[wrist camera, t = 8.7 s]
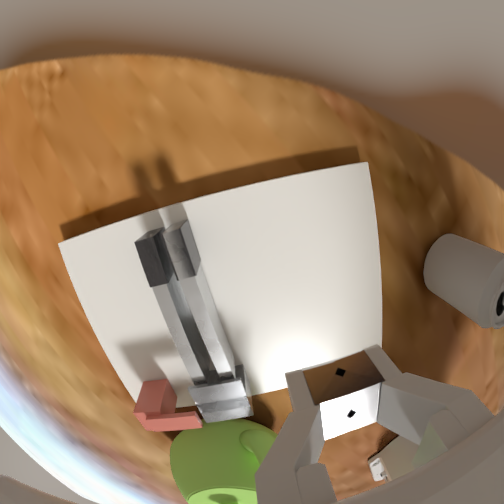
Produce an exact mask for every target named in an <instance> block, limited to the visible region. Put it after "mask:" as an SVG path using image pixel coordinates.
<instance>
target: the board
mask: <svg viewBox="0 0 504 504" xmlns="http://www.w3.org/2000/svg"><path fill="white" fill-rule="evenodd" d="M187 219H188V221H189V224H190V227H191V230H192V233H193V237H194V240H195V243H196V246H197V249H198V252H199V255H200V258H201V262H200V263H201V266H202V269H203V272H204V275H205V278H206V281H207V284H208V287H209V290H210V292H211V295H212V298H213V301H214V303H215V306H216V309H217V312H218V314H219V317H220V320H221V323H222V325H223V328H224V331H225V333H226V336H227V338H228V341H229V344H230V346H231V349H232V351H233V354H234V360H235V366H237V365H241V364H243V365H244V368H245V371H246V374H247V377H248V379H249V382H250V388H251V396H253V395H257V394H262V393H266V392H271V391H275V390H279V389H283V388H287V383H286V378H285V373H286V372H290V371H295V370H299V369H301V368H305V367H309V366H313V365H317V364H320V363H324V362H328V361H331V360H334V359H337V358H340V357H343V356H346V355H349V354H352V353H355V352H358V351H360V350H362V349H365V348H368V347H370V346H373V345H375V344H377V345H379V346H380V347H381V348H382V284H381V265H380V251H379V239H378V229H377V220H376V212H375V204H374V197H373V190H372V184H371V178H370V172H369V166H368V162H359V163H353V164H346V165H341V166H335V167H329V168H324V169H318V170H313V171H308V172H303V173H298V174H293V175H288V176H284V177H279V178H274V179H270V180H265V181H261V182H256V183H252V184H248V185H244V186H240V187H235V188H231V189H227V190H223V191H220V192H216V193H212V194H208V195H204V196H201V197H197V198H193V199H190V200H186V201H182V202H179V203H175V204H172V205H169V206H165V207H162V208H158V209H155V210H152V211H149V212H145V213H142V214H139V215H136V216H133V217H130V218H126V219H123V220H120V221H117V222H114V223H111V224H108V225H106V226H103V227H100V228H97V229H94V230H91V231H88V232H86V233H83V234H80V235H77V236H75V237H72V238H69V239H67V240H64V241H62V242H60V243H58V245H59V248H60V251H61V254H62V257H63V259H64V262H65V265H66V268H67V270H68V273H69V276H70V278H71V281H72V283H73V286H74V288H75V291H76V293H77V295H78V298H79V300H80V302H81V305H82V307H83V309H84V311H85V313H86V316H87V318H88V320H89V322H90V324H91V326H92V328H93V330H94V332H95V334H96V336H97V338H98V340H99V342H100V344H101V346H102V348H103V349H104V351H105V353H106V355H107V357H108V358H109V360H110V362H111V364H112V365H113V367H114V369H115V371H116V372H117V374H118V376H119V377H120V379H121V380H122V382H123V384H124V385H125V387H126V388H127V390H128V392H129V393H130V395H131V396H132V398H133V399H134V401H135V402H136V403H137V399H138V396H139V393H140V390H141V387H142V384H143V382H144V381H153V380H161V379H168V381H169V383H170V385H171V387H172V388H173V390H174V392H175V394H176V395H177V402H176V408H178V407H187V406H195V405H196V404H195V402H194V400H193V398H192V396H191V395H190V393H189V391H188V387H189V386H195V385H194V383H193V381H192V379H191V377H190V375H189V373H188V371H187V369H186V367H185V365H184V363H183V360H182V358H181V356H180V354H179V352H178V350H177V347H176V345H175V343H174V341H173V338H172V336H171V334H170V331H169V329H168V327H167V324H166V322H165V319H164V317H163V315H162V312H161V310H160V307H159V305H158V302H157V299H156V297H155V294H154V292H153V289H152V287H151V288H150V286H149V283H148V281H147V278H146V275H145V272H144V270H143V267H142V264H141V261H140V258H139V255H138V252H137V249H136V246H135V243H134V242H135V241H136V240H138V239H139V238H140V237H141V236H143V235H144V234H145V233H147V232H148V231H151V230H154V229H158V228H161V227H165V230H166V229H167V228H168V227H169V226H170V225H171V224H174V223H178V222H181V221H184V220H187ZM187 303H188V302H187ZM188 306H189V305H188ZM189 308H190V307H189ZM190 311H191V310H190ZM191 314H192V312H191ZM192 317H193V315H192ZM193 319H194V317H193ZM194 322H195V319H194ZM195 325H196V327H197V324H196V322H195ZM197 330H198V332H199V335H200V338H201V340H202V343H203V345H204V348H205V350H206V353H207V355H208V358H209V360H210V368H209V371H212V370H215V366H214V363H213V361H212V359H211V357H210V355H209V352H208V350H207V348H206V345H205V343H204V341H203V339H202V336H201V334H200V331H199V329H198V327H197Z"/></svg>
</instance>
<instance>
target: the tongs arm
mask: <svg viewBox="0 0 504 504" xmlns="http://www.w3.org/2000/svg"><path fill="white" fill-rule="evenodd" d="M161 237H162V240H163V243H164V246H165V248H166V251H167V254H168V257H169V260H170V263H171V265H172V268H173V271H174V273H175V276H176V279H177V281H180V284H181V287H182V289H183V292H184V294H185V297H186V300H187V302H188V305H189V307H190V310H191V312H192V315H193V317H194V319H195V322H196V324H197V327H198V329H199V331H200V334H201V336H202V339H203V341H204V343H205V345H206V348H207V350H208V352H209V355H210V357H211V359H212V361H213V363H214V366H215V368H216V370H217V372H218V374H219V376H220V379H221V381H224V380H230V379H235V378H236V377H235V360H234V354H233V351H232V349H231V346H230V344H229V341H228V338H227V336H226V333H225V331H224V328H223V325H222V323H221V320H220V317H219V314H218V312H217V309H216V306H215V303H214V301H213V298H212V295H211V292H210V290H209V287H208V284H207V281H206V278H205V275H204V272H203V269H202V266H201V263H200V262H201V258H200V255H199V252H198V249H197V246H196V243H195V240H194V237H193V233H192V230H191V227H190V224H189V221H188V219H187V220H184V221H181V222H178V223H174V224H171V225H170V226H169V227H168V228H167V229H166V230H165V231H164V232H163V233H162V234H161Z"/></svg>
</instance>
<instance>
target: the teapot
mask: <svg viewBox="0 0 504 504" xmlns="http://www.w3.org/2000/svg"><path fill="white" fill-rule="evenodd" d="M201 421H202V423H203V428H196V429H186V430H183V431H182V432H181V433H179V434H178V435H177V436H176V438H175V439H174V441H173V442H172V444H171V448H170V464H171V470H172V474H173V477H174V479H175V482H176V484H177V486H178V488H179V490H180V492H181V493H182V495H183V497H184V498H185V500H186V501H187V502H188V503H189V504H258V503H257V494H256V484H255V473H256V472H257V470H258V468H259V467H260V465H261V463H262V462H263V460H264V458H265V457H266V455H267V453H268V451H269V450H270V448H271V446H272V444H273V443H274V441H275V439H276V437H277V436H278V435H277V434H276V433H275V432H273V431H272V430H270V429H269V428H267V427H265V426H263V425H261V424H258V423H256V422H252V421H249V420H245V419H241V418H236V419H230V420H224V421H218V422H210V423H206V421H205V420H204V419H202V420H201Z"/></svg>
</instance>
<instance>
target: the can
mask: <svg viewBox="0 0 504 504" xmlns="http://www.w3.org/2000/svg"><path fill="white" fill-rule="evenodd" d="M423 274H424V282H425V284H426V286H427V288H428V289H429V290H430V291H431V292H433V293H434V294H436V295H437V296H439V297H440V298H441V299H443V300H444V301H446V302H447V303H449V304H450V305H452V306H453V307H454V308H456V309H457V310H459V311H460V312H461V313H463V314H464V315H466V316H467V317H468V318H470V319H471V320H473V321H474V322H475V323H477V324H478V325H479V326H481V327H482V328H490V327H493V328H494V329H499V328H501V327H503V326H504V254H503V253H501V252H499V251H496V250H494V249H491V248H489V247H486V246H484V245H481V244H479V243H476V242H474V241H471V240H468V239H466V238H463V237H460V236H458V235H455V234H452V233H451V234H445V235H443V236H441V237H440V238H438V239H437V241H436V242H435V243H434V244H433V245H432V247H431V248H430V250H429V252H428V253H427V256H426V259H425V264H424V272H423Z"/></svg>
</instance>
